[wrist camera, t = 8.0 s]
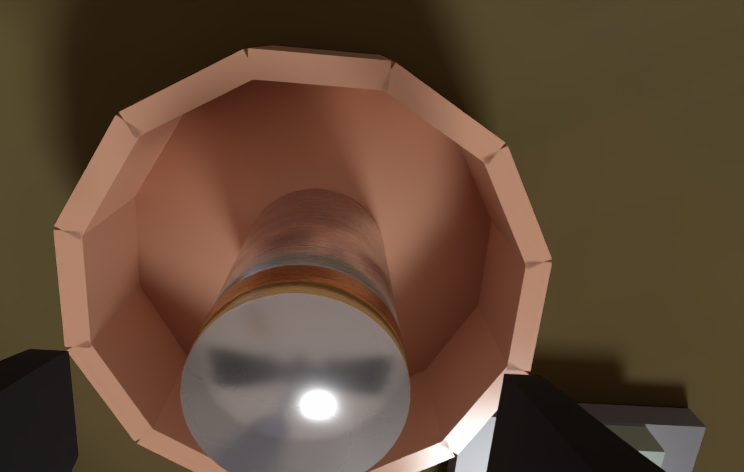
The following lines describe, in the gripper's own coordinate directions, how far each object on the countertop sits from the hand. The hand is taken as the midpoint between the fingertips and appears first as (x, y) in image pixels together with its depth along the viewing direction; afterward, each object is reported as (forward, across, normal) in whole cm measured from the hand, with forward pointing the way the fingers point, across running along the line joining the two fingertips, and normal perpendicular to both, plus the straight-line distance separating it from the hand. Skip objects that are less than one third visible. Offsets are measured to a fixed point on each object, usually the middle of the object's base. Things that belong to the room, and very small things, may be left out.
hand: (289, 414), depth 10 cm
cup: (+8, 0, 0) cm, 8 cm away
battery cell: (+7, 0, 0) cm, 7 cm away
